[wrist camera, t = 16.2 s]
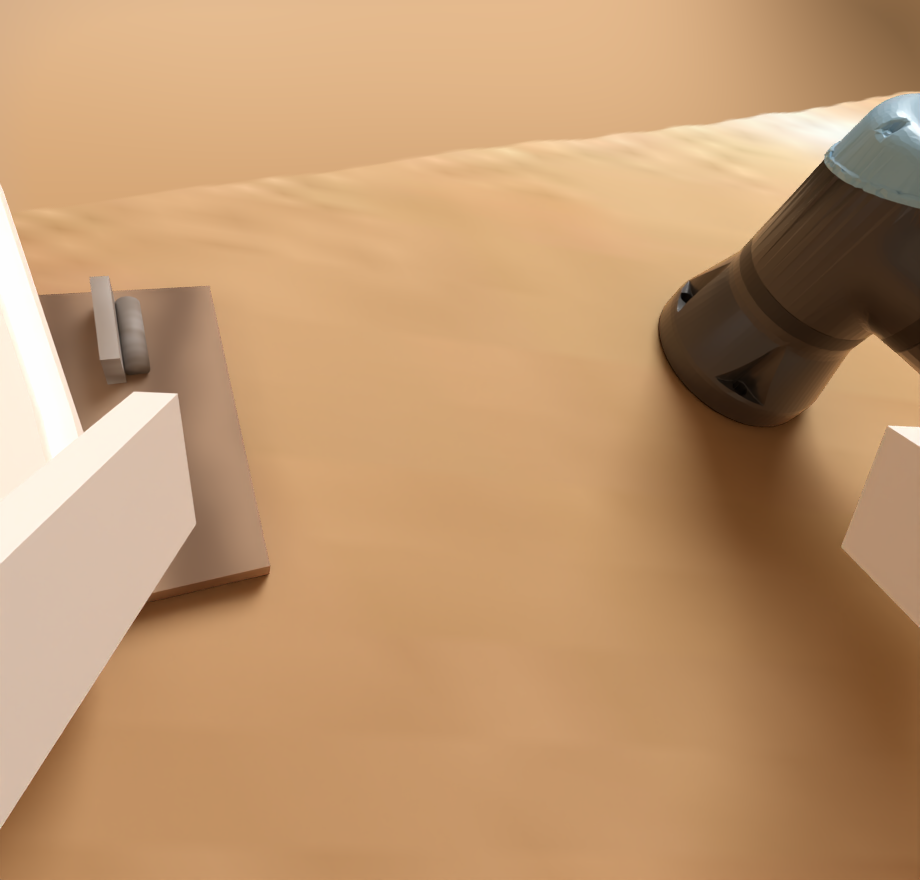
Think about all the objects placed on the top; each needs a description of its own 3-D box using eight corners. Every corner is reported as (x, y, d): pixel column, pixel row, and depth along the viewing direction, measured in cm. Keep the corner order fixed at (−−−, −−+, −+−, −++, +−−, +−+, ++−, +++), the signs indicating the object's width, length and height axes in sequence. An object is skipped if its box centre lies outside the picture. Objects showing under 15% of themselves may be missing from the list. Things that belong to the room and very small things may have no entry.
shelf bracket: (47, 254, 40) (-12, 104, 29) (146, 640, 36) (122, 637, 25) (-59, 264, 38) (-167, 105, 27) (34, 678, 34) (-47, 694, 23)
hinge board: (210, 300, 44) (207, 259, 41) (269, 573, 36) (272, 551, 33) (-164, 324, 36) (-206, 275, 33) (-190, 681, 28) (-248, 665, 25)
